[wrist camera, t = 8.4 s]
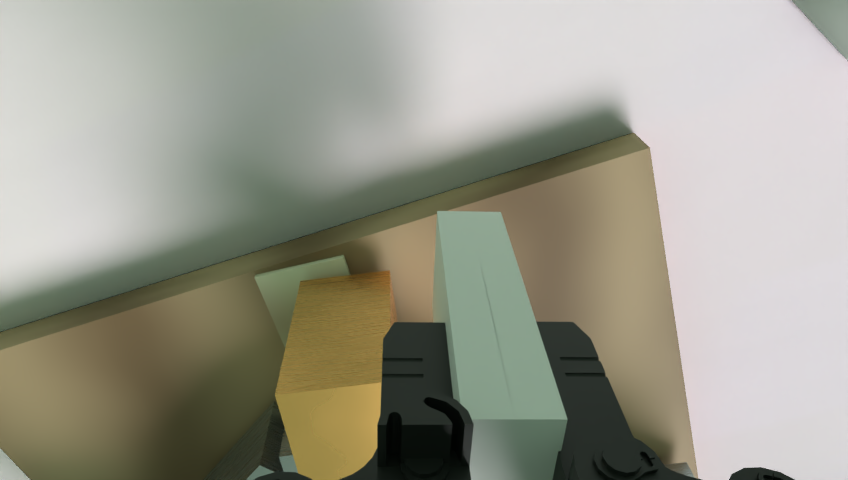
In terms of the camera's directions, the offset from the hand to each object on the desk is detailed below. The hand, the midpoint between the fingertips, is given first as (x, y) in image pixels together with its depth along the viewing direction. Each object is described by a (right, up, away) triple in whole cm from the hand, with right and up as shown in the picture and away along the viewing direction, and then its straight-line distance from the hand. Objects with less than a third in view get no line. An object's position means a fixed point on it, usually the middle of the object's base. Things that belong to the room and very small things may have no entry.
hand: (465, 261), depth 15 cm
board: (-2, -9, +9) cm, 13 cm away
